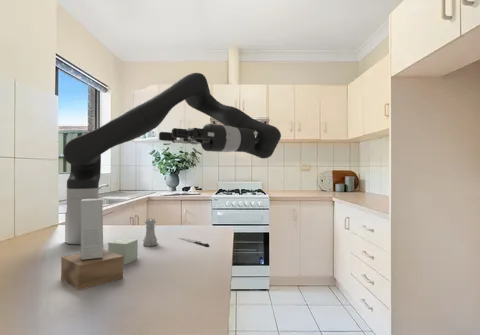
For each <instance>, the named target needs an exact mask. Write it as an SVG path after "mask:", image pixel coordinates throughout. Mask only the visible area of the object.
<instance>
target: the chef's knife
mask: <svg viewBox="0 0 480 335" xmlns="http://www.w3.org/2000/svg"><path fill="white" fill-rule="evenodd" d="M177 239H178V240H182V241H186V242H188V243H192V244H196V245H199V246H201V247H202V246H203V247H206V248H209V247H210V244H209V243H204V242H201V241H200V240H195V239H190V238H186V237H184V238H183V237H177Z"/></svg>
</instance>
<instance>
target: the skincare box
mask: <svg viewBox="0 0 480 335" xmlns="http://www.w3.org/2000/svg"><path fill="white" fill-rule="evenodd" d="M103 207H104V206H103V198H99V199H82V200H81V244H80V254H81V260H85V259H94V258H102V257H103V249H104V221H103V220H104V218H103V217H104V216H103V215H104V214H103V211H104V210H103Z"/></svg>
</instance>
